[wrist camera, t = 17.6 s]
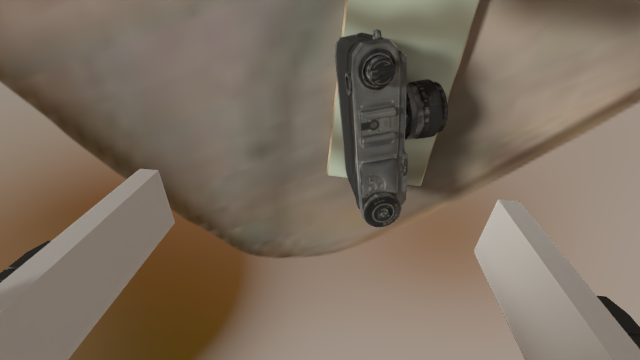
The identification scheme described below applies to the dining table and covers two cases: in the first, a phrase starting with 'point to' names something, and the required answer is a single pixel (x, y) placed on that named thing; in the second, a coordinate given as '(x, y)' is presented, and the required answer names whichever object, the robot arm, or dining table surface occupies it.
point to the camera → (382, 121)
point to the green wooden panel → (410, 57)
